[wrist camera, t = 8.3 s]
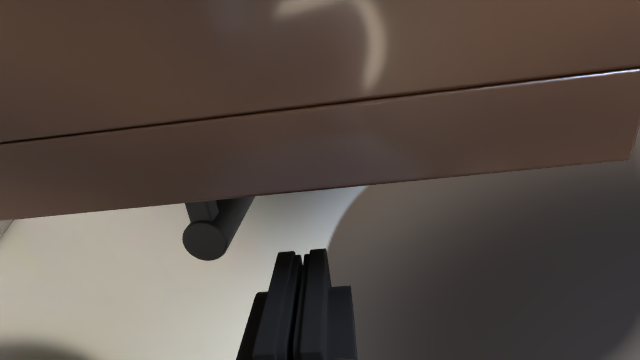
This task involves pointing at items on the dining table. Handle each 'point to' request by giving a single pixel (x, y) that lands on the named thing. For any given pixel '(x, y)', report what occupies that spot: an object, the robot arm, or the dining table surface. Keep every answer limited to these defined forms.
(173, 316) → the dining table surface
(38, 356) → the dining table surface
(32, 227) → the dining table surface
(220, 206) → the tinted door with handle
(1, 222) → the lighter
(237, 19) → the cabinet
